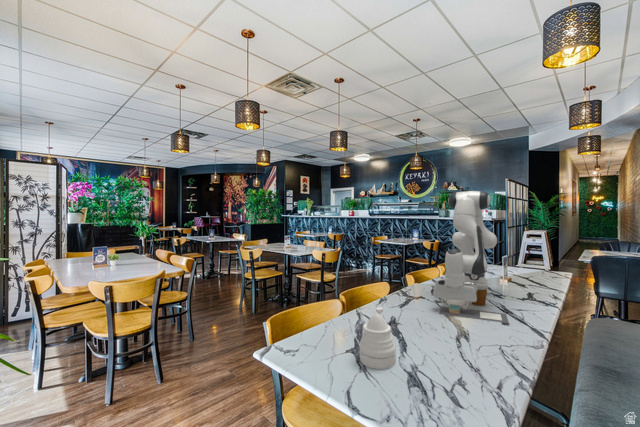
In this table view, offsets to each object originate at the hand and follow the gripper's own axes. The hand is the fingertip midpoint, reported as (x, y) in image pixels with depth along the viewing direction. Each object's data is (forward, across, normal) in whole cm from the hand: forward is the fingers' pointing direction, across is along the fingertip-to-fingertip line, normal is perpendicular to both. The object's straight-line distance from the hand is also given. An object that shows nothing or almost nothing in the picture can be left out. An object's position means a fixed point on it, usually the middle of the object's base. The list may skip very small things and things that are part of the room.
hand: (454, 308), depth 153 cm
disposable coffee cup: (+3, -11, -19) cm, 22 cm away
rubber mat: (+3, -8, 0) cm, 8 cm away
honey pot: (+4, +22, +63) cm, 67 cm away
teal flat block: (+2, 0, 0) cm, 2 cm away
